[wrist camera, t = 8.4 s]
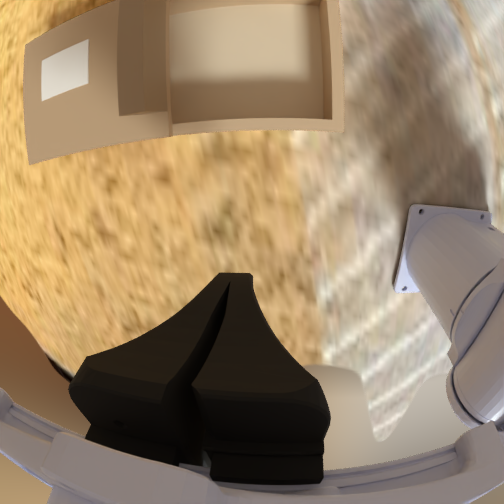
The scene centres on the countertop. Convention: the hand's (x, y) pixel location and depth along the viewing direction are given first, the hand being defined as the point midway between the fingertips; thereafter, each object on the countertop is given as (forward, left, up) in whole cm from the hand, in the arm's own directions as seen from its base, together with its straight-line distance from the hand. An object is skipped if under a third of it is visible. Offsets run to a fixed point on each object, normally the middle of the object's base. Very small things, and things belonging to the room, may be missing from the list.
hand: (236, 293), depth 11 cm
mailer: (0, -11, -10) cm, 15 cm away
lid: (+10, -11, -7) cm, 16 cm away
